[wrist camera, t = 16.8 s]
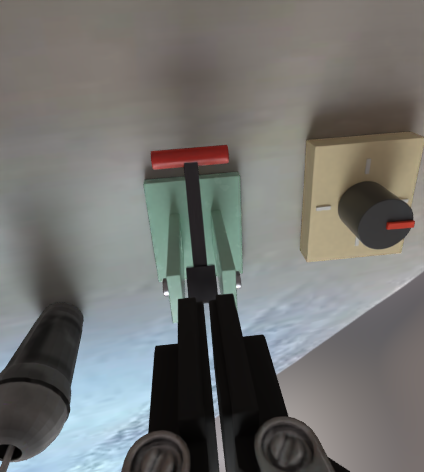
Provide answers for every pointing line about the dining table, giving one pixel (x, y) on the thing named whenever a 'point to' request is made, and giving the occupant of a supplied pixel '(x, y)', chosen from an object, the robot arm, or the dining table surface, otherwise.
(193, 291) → the lever
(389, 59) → the dining table surface
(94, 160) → the dining table surface
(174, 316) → the bracket
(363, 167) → the panel
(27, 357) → the beverage cup
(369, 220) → the knob
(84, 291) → the dining table surface
